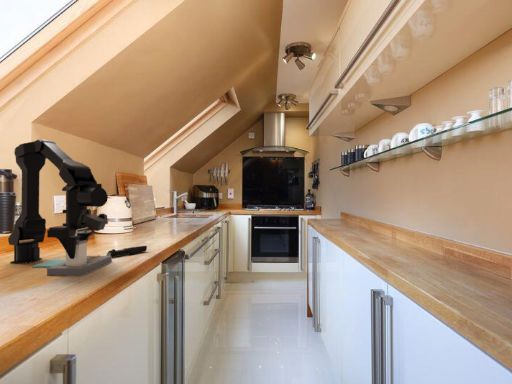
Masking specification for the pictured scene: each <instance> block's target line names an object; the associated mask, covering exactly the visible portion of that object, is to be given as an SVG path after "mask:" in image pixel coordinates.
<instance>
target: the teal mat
mask: <svg viewBox="0 0 512 384" xmlns="http://www.w3.org/2000/svg"><path fill="white" fill-rule="evenodd" d="M64 262H66V258H58V259H57V258H52V259H50V260H46V261H43V262H39V263H37V264H34V265H32V266H31V267H32V268H39V269H40V268H42V269H43V268H45V269H47V268H49V267H52V266H55V265H58V264H61V263H64Z"/></svg>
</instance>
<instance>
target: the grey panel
mask: <svg viewBox="0 0 512 384" xmlns="http://www.w3.org/2000/svg"><path fill="white" fill-rule="evenodd" d="M112 260H113V258H112V256H106V255H99V254H98V255H97V254H92V255H87V264H85V265H82V266H66V262H64V263H61V264H58V265H55V266H52V267H49V268H46V276H64V277H65V276H66V277H67V276H71V277H72V276H74V277H75V276H76V277H77V276H78V277H79V276H81V277H82V276H83V275H86V274H88V273H91V272H93V271H94V270H97V269H99V268H101V267H103V266H105V265H108V264H110V263H111V262H112Z"/></svg>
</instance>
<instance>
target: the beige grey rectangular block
mask: <svg viewBox="0 0 512 384" xmlns="http://www.w3.org/2000/svg"><path fill="white" fill-rule="evenodd" d="M87 244H88V241H87V240H77V242H76V251H75V257H74V259H70V257H69V256H68V254H67V252H66V251H65V259H66V266H82V265H85V264H87V256H88V255H87V253H88V252H87V251H88V248H87V247H88V245H87Z"/></svg>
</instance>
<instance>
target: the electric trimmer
mask: <svg viewBox="0 0 512 384" xmlns="http://www.w3.org/2000/svg"><path fill="white" fill-rule="evenodd" d="M147 249H148V246H147V245H142V246H132V247H127V248H122V249H118V250H116V249H113V248H112V249H111V250H109V251H108V252H107V253H106V255H105V256H112V259H114V258H115V257H116V258H117V257H122V256H128V255H129V256H132V255H137V254H141V253H144V252H147Z"/></svg>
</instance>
